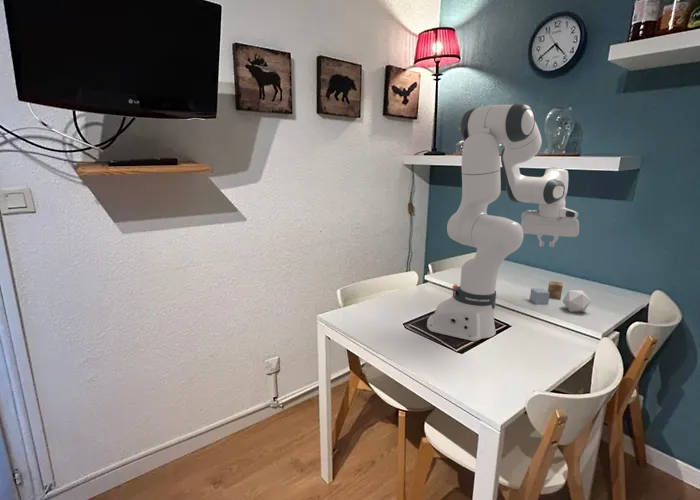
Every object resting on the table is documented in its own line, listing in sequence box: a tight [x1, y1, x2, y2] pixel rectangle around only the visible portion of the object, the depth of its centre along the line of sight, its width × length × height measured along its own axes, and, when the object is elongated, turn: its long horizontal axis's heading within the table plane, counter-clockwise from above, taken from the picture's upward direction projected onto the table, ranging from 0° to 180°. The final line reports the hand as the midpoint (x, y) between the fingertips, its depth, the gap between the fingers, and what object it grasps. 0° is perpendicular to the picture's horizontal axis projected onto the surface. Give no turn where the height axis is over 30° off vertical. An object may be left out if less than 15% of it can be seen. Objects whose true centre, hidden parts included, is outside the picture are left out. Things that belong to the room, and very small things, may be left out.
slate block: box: [529, 288, 550, 305], centre depth 158 cm, size 5×5×5 cm
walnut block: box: [547, 280, 564, 301], centre depth 164 cm, size 5×5×6 cm
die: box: [561, 289, 592, 313], centre depth 149 cm, size 8×9×10 cm
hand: (546, 246), depth 153 cm, fingers open, 2 cm apart
